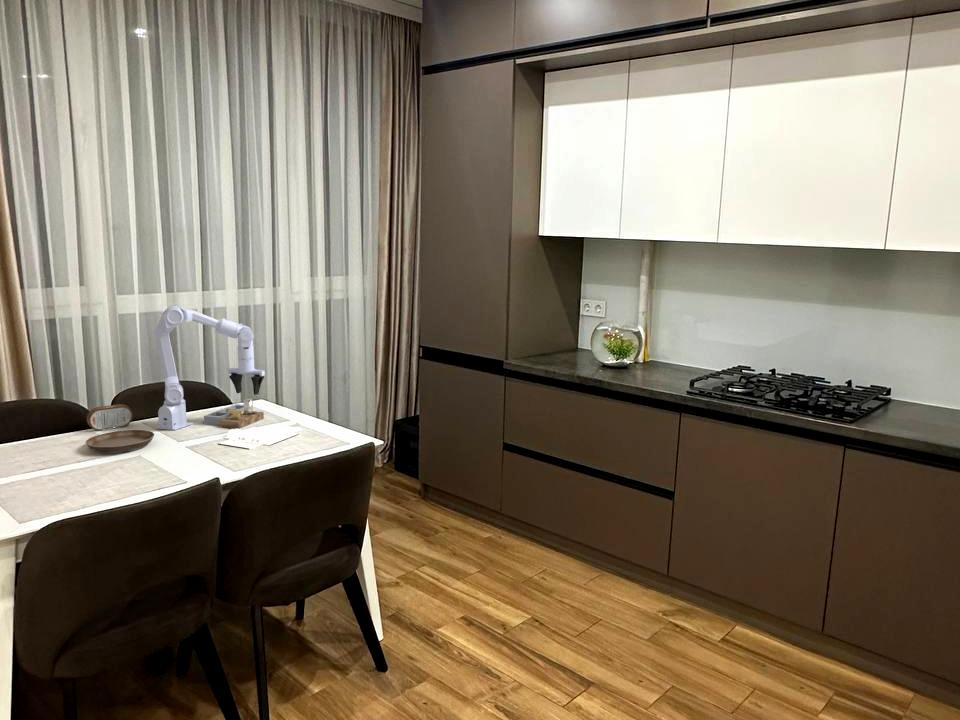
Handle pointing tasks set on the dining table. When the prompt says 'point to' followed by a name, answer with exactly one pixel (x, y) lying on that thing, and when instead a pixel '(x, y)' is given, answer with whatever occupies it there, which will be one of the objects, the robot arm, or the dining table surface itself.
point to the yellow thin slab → (235, 413)
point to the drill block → (241, 420)
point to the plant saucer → (120, 441)
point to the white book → (259, 436)
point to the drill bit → (248, 407)
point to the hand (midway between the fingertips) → (247, 393)
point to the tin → (109, 416)
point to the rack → (221, 414)
